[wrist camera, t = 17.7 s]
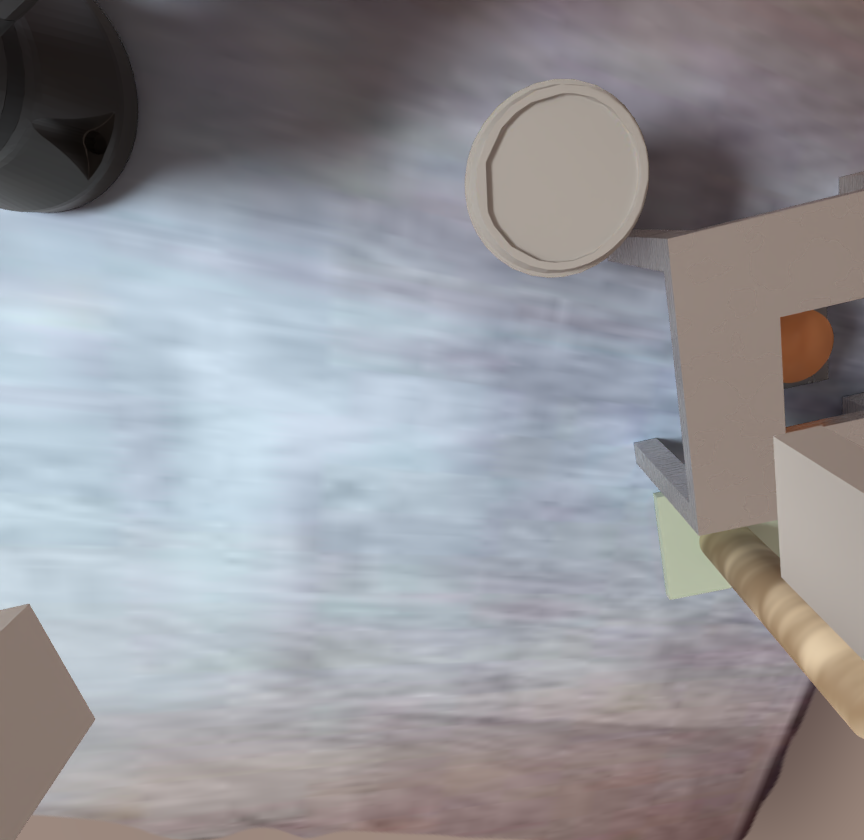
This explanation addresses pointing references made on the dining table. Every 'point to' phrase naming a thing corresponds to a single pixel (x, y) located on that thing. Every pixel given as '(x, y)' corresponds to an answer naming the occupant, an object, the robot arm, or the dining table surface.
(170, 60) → the dining table surface
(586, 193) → the disposable coffee cup
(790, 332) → the button
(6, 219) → the dining table surface
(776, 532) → the pad
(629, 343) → the dining table surface
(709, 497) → the stand
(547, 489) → the dining table surface
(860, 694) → the rod
